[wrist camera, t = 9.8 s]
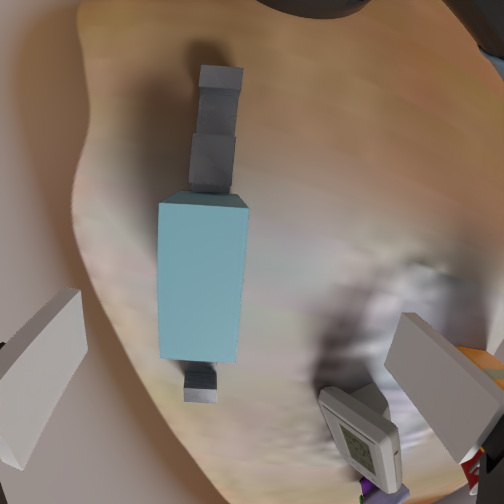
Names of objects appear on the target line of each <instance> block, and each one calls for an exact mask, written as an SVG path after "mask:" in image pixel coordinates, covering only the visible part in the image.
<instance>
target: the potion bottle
mask: <svg viewBox="0 0 504 504" xmlns="http://www.w3.org/2000/svg"><path fill="white" fill-rule="evenodd" d="M359 482H360V483H361V486H362V493H363V496H362V495H361V496H360V497H359V498H360V504H401V503H402V502H403V501H404V500H405V499H407V498H408V497H409V496H410V493H409V489H408V488H407V487H406V486H405V485H404V484H403V483H402V484H401V486H400V488H399V489H398V491H397V492H394V493H389V494H387V493H386V492H384V491H383V490H381V489H380V488H379V487H378V486H376V485H375V484H374V483H372V482H371V481H370V480H369V479H367V478H366V477H365V476H364V477H363V478H362V479H361V480H360V481H359ZM363 497H364V498H363Z"/></svg>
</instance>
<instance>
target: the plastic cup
mask: <svg viewBox="0 0 504 504" xmlns="http://www.w3.org/2000/svg"><path fill="white" fill-rule="evenodd" d="M482 454H483V452H482V451H481V449H479V450H478V451H477V453H476V454H475V455H474V456H473V458H472V459H470V460H468V461H466V462H463V463H461V466H462V468H463V470H464V473H465V475H466V478H467V480H468V482H469V483H468V484H469V486H470V487H469V488H470V495H474V494H477V491H478V480H479V475H476V474H474V473H475V472H476V471H477V470H478V468H479V467H476V468H475V469H474V471H473V472H472V473H469V470H470V468H471V467H472V466H473V465H474V464H475V462H476V461H477V460H478V459H479V457H480V456H481V455H482Z"/></svg>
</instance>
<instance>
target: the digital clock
mask: <svg viewBox="0 0 504 504" xmlns="http://www.w3.org/2000/svg"><path fill="white" fill-rule="evenodd" d="M318 402H319V404H320V407H321V409H322V412H323V414H324V416H325V419H326V421H327V424H328V426H329V428H330V431H331V433H332V435H333V438H334V440H335V443H336V445H337V447H338V450H339V452H340V454H341V456H342V458H343V459H344V460H345V461H347V462H348V463H349V464H350V465H351V466H352V467H354V468H355V469H356V470H357V471H359V472H360V473H361V474H362V475H364V476H365V477H366V478H367V479H369V480H370V481H371V482H372V483H374V484H375V485H376V486H378V487H379V488H380V489H381V490H383V491H384V492H386V493H387V494H389V493H394V492H397V491H398V489H399V488H400V486H401V484H402V463H401V451H400V441H399V433H398V428H397V427H396V425H395V424H393V423H392V422H391V418H390V411H389V405H388V402H387V400H386V398H385V397H384V395H383V394H382V393H381V391H380V390H379V388H378V387H377V385H376V384H375V383H374V382H372V383H370V384H368V385H366V386H364V387H362V388H360V389H358V390H356V391H354V392H352V393H350V394H347V393H345V392H344V391H342V390H341V389H339V388H337V387H334V386H327V387H324V388H323V389H321V391H320V395H319V398H318Z"/></svg>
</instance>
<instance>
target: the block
mask: <svg viewBox="0 0 504 504" xmlns="http://www.w3.org/2000/svg"><path fill="white" fill-rule="evenodd" d="M248 220H249V207H248V206H247V205H246V204H245V203H244V202H243V200H242V199H241V198H240V197H239V196H238V195H237V194H226V193H211V192H195V191H178V192H177V193H175V194H173V195H171V196H170V197H168V198H166V199H165V200H163V201H161V202H160V203H159V215H158V253H157V290H158V327H159V348H160V358H162V359H175V360H189V361H207V362H235V363H236V354H237V343H238V331H239V320H240V308H241V297H242V286H243V275H244V263H245V252H246V241H247V231H248Z"/></svg>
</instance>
